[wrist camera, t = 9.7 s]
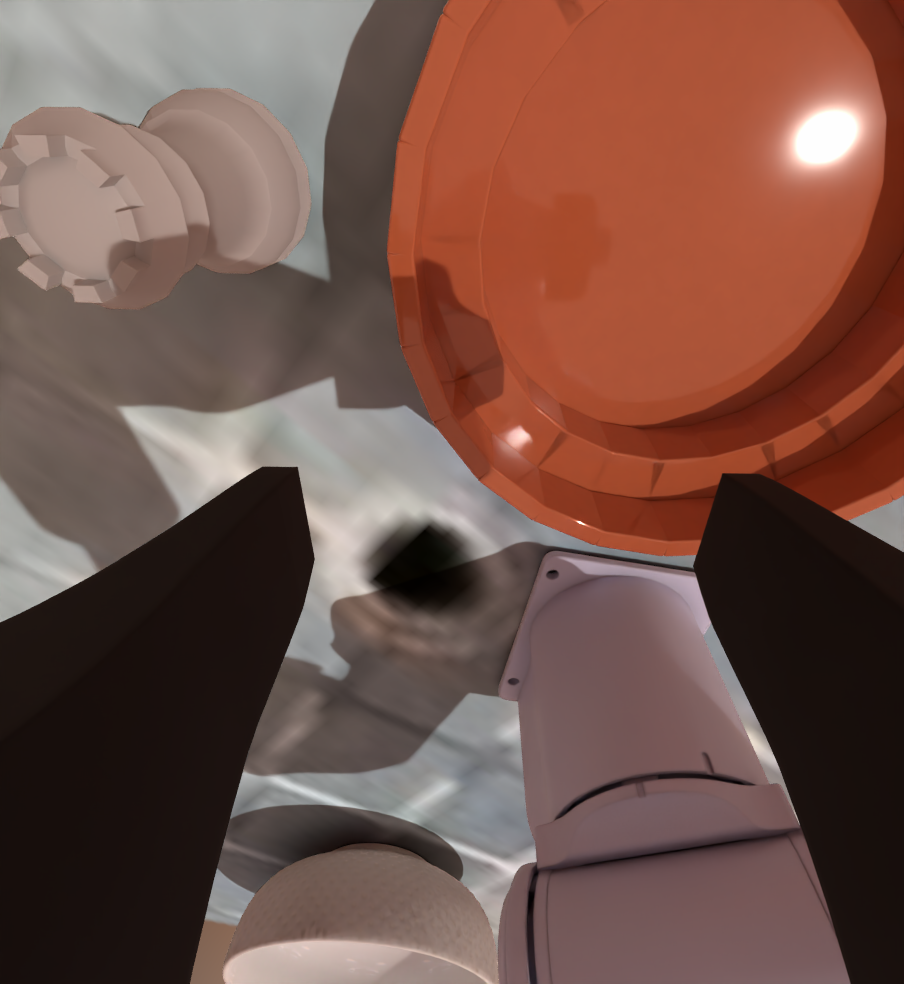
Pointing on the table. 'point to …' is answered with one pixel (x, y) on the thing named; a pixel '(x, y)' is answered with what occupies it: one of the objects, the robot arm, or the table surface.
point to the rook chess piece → (151, 195)
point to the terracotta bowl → (657, 255)
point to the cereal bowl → (362, 924)
